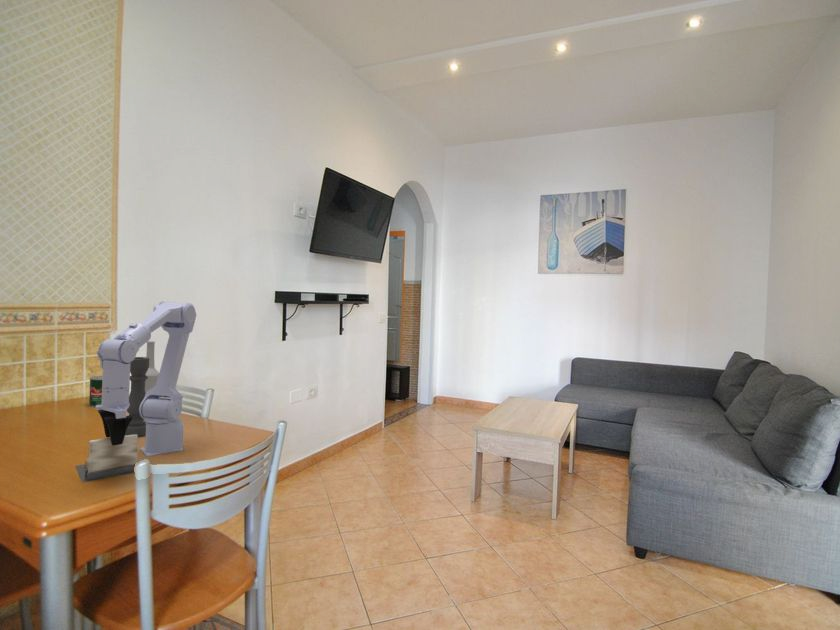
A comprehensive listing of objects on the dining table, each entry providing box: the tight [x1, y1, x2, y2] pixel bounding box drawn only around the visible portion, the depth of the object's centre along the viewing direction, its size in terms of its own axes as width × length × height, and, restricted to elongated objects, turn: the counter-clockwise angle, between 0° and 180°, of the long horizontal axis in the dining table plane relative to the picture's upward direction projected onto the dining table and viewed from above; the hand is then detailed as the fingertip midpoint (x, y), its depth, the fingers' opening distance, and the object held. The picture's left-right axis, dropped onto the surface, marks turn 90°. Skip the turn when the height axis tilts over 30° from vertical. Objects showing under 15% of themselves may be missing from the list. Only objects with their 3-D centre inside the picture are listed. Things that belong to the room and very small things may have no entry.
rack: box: [74, 463, 135, 484], centre depth 117 cm, size 13×13×2 cm
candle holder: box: [125, 356, 149, 439], centre depth 144 cm, size 6×6×25 cm
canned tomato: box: [88, 375, 103, 408], centre depth 178 cm, size 8×8×11 cm
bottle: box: [145, 340, 160, 392], centre depth 165 cm, size 7×7×28 cm
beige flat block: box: [88, 434, 139, 473], centre depth 114 cm, size 10×2×9 cm, turn 134°
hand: (113, 440), depth 114 cm, fingers open, 7 cm apart
